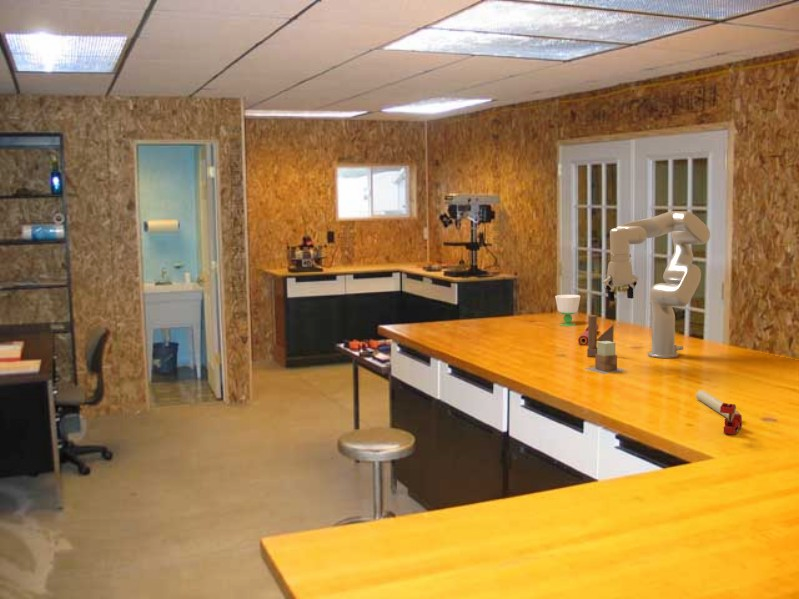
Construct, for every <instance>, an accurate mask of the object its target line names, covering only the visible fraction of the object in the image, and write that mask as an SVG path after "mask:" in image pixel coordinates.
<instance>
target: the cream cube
mask: <svg viewBox="0 0 799 599" xmlns="http://www.w3.org/2000/svg"><path fill="white" fill-rule="evenodd" d="M597 354H598V355H602V356H612V355H616V342H614V341H613V342H610V341H597Z"/></svg>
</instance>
